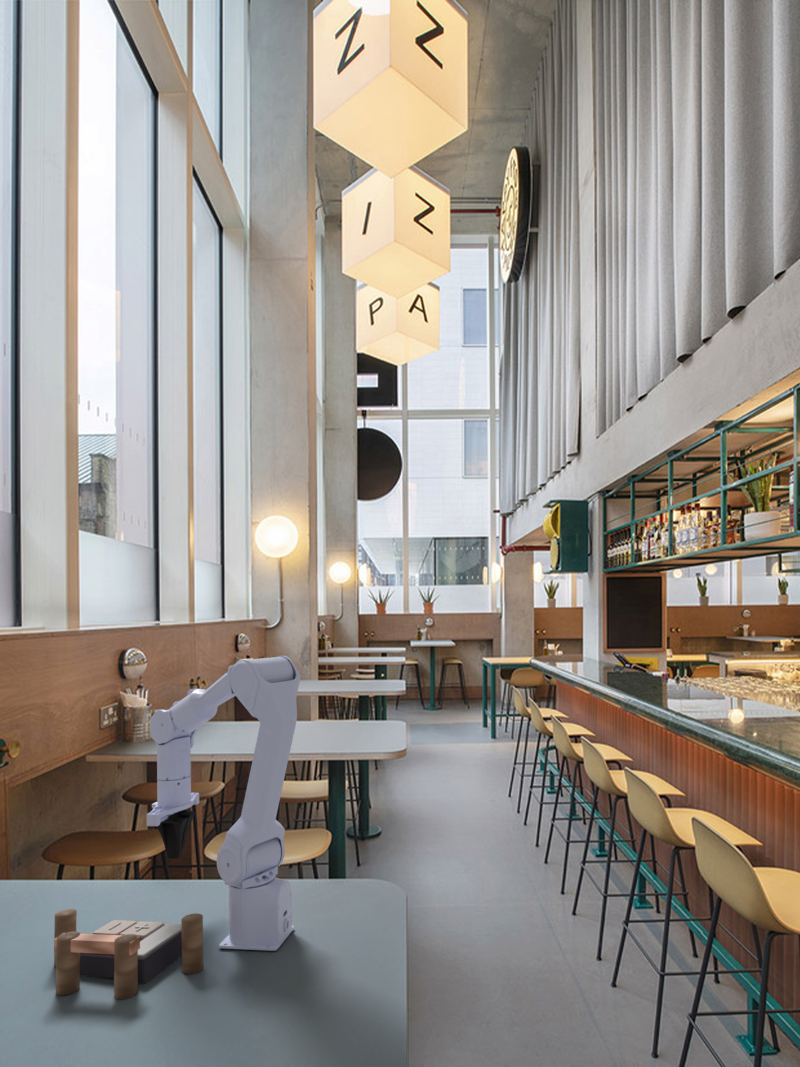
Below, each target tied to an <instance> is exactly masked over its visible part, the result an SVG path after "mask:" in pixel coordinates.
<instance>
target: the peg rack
mask: <svg viewBox="0 0 800 1067" xmlns="http://www.w3.org/2000/svg"><path fill="white" fill-rule="evenodd" d="M77 916H78V914H77V909H75V908H69V909H63V910H60V911H57V912H56V913H55V914H54V933H53V934H54V937H53V939H54V940H53V959H54V960H53V966H54V967H55V995H56V996H61V997H64V996H68V995H72V994H74V993H76V992H77V991H79V990H80V985H81V982H80V981H81V975H80V953H96V954H114V979H113V992H114V993H113V998H114V999H115V1000H116V999H117V1000H127V999H130V998H132V997H134V996H135V995H137V993H138V992H139V987H138V986H139V984H138V950H139V949H140V936H137V935H135V934H127V935H103V934H93V933H81V932H79V931H77ZM180 921H181V924H182V957H181V972H182V973H183V974H184V975H193V974H194V975H195V974H197V973H199V972H201V971H203V969H204V922H203V921H204V916H203V914H201V913H189V914H187V915H184V916H183V917H182V918H181V920H180Z"/></svg>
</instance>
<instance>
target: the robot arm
mask: <svg viewBox="0 0 800 1067" xmlns="http://www.w3.org/2000/svg"><path fill="white" fill-rule="evenodd" d="M293 661H294V660H292V659H291V658H290V657H289V656H286V655H278V656H275V657H262V658H254V659H247V658H243V659H239V660H238V661H236V662H235V663H234V664H232V665H230V666H228V667H227V672H225V673H224V674H223V675H222V676H221V677H220V678H218V679H217V680H216V681H215V682H214V683H212V684H211V685H210V686H209V687H207V688H206V689H204V688H190V689H189V690H188V691H187V695H186V696H185V697H184V698H182V699H180V700H177V701H175V702H172V706H171V707H169V709H157V710H156V711H155V712H154V713H153V715H152V716H151V718H150V721H149V733H150V736H151V738H152V740H153V741H154V742H155V743H156V765H157V766H156V770H157V771H156V774H157V775H156V781H157V784H156V789H157V790H156V792H157V793H156V794H157V796H156V797H157V799H156V802H153V803H152V804H151V808H152V810H151V811H150V812H148V813H147V814H146V827H155V828H156V829H157V830H158V832H159V834H160V837H161V839H162V842H163V845H164V849H165V852H166V856H167V859H180V858H181V857H183V852H184V848H185V844H186V840H187V836H188V831H189V829H190V827H191V823H192V822H193V820H194V817H195V811H194V810H188V809H190V808H192V806H195V805H196V806H197V805H198V804H200V793H199V792H192V774H191V773H192V771H191V769H192V766H191V764H192V763H191V762H192V761H191V760H192V759H191V758H192V757H191V749H192V748H193V746H194V741H195V740H194V738H195V736H196V734H197V730H198V728H200V727H201V726H203V725H204V724H206V723H207V722H209V721H210V720H212V719H213V718H214V717H216V714H217V713H218V707H219V706H221V705H222V704H224V703H225V702H228V701H229V700H230V699H231V700H232V699H233V698H234V697H236V698H237V699H238V700H239V702H240V703H241V705H243V707H244V708H245V709H246V710H247V712H248V713H249V714H250V715H251V717H253V718H255V719H257V720H258V721H259V727H258V733H257V737H256V738H257V739H256V743H255V747H254V752H253V756H252V757H253V758H252V762H251V765H250V771H249V776H248V781H247V786H246V790H245V795H244V800H243V803H242V809H241V813H240V814H241V815H240V817H239V818H238V819H237V821H236V822H235V823H234V824H233V825H232V826H231V827H230V828H229V830H227V832H226V833H225V837H224V842H223V843H222V845H221V846H220V847H219V849H218V851H217V855H216V869H217V871H218V875H219V876H220V879H221V880H222V881H223V882H224V885H226V886H228V917H229V918H228V919H229V920H228V929H229V934H228V935H227V936H226V937H225V938H224V939H223V940H222V941H221V942H220V943H219V944H218V948H220V949H225V950H251V951H270V952H271V951H272V952H273V951H274V952H275V951H278V949H280V947H281V945H282V944H283V943H284V942H285V940H286V939H287V938H288V937H289V936H290V934H291V933H292V932H293V930H295V926H294V925H293V909H292V908H293V903H292V902H293V901H292V887H291V886H292V885H291V883H290V882H289V880H286V879H281V878H278V877H277V875H278V874H279V867H280V865H281V864H282V863H283V861H284V859H285V854H286V853H285V852H286V851H285V843H284V840H285V839H284V838H285V833H286V829H285V827H284V826H283V825H282V823H280V822H279V821H278V820H277V814H278V810H279V804H280V801H281V795H282V791H283V786H284V781H285V778H286V777H285V776H286V772H287V766H288V762H289V757H290V753H291V749H292V744H293V739H294V734H295V730H296V725H297V721H298V720H297V719H298V707H297V696H298V692H299V686H300V683H301V678H302V677H301V674H300V672H299V671H298V669H297V667H296V664H295V663H294V662H293Z"/></svg>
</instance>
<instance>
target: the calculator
mask: <svg viewBox="0 0 800 1067" xmlns="http://www.w3.org/2000/svg"><path fill="white" fill-rule="evenodd" d="M92 934H103V935H127V934H135V935H137V936H140V949H139V950H138V985H139V984H140V985H145V984H147V983H149V982H150V981H152V980H153V979H154V978H156V977H157V976H158V975H159V974H161V973H162V972H164V971H165V970H166V969H167V968H168V967H171V965H173V964H174V963H175V962H177V961H178V960H179V959H180V958H181V959H182V924H179V923H176V924H175V923H167V924H164V922H163V921H141V920H140V921H138V922H137V920H124V919H123V920H121V919H120V920H119V919H118V920H117V919H113V920H111V921H110V922H108V923H107V924H104V925H103V926H101V927H99V928H97V929H95V930H94V931H93V932H92ZM160 972H161V973H160ZM80 976H85V977H90V978H91V977H92V978H99V977H100V979H113V980H114V954H96V953H80Z"/></svg>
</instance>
